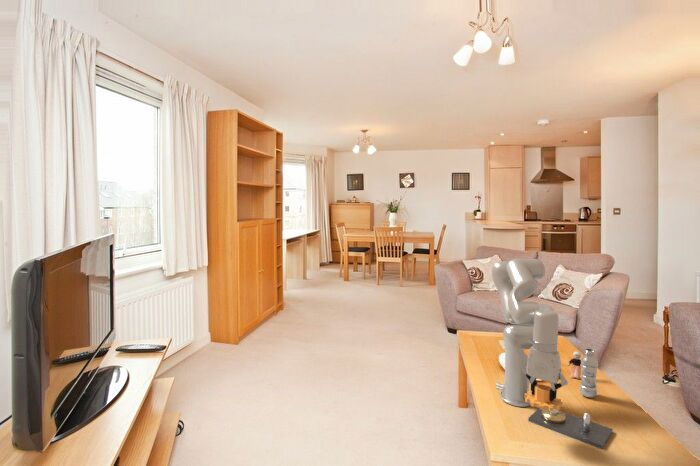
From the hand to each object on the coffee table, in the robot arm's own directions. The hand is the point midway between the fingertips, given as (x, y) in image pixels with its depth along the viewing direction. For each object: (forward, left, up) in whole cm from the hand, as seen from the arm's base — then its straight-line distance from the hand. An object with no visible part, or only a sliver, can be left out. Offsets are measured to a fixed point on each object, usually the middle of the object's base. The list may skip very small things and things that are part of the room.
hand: (543, 396), depth 134 cm
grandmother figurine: (-7, +62, -15) cm, 64 cm away
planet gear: (0, 0, -2) cm, 2 cm away
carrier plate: (+4, +15, -15) cm, 21 cm away
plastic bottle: (+2, +46, -15) cm, 48 cm away
